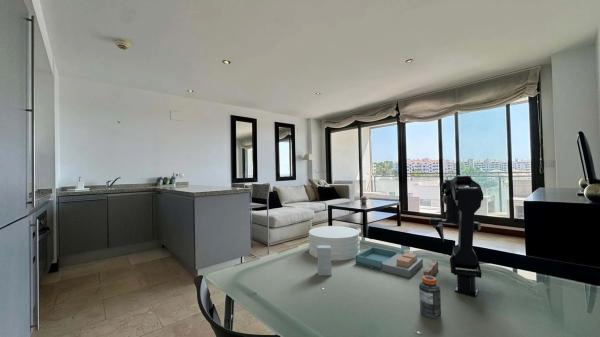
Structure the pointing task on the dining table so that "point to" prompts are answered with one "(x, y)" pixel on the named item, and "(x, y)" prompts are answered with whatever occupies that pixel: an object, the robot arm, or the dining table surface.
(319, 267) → the skincare box
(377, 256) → the box
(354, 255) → the plate stack
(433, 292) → the pill bottle
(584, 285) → the dining table surface
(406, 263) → the tile
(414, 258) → the tile
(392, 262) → the platform
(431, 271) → the scraper bar
